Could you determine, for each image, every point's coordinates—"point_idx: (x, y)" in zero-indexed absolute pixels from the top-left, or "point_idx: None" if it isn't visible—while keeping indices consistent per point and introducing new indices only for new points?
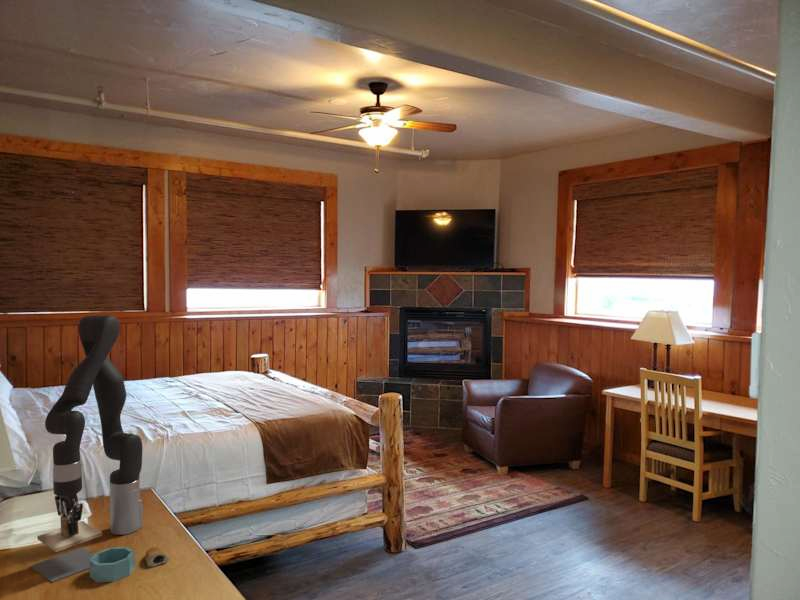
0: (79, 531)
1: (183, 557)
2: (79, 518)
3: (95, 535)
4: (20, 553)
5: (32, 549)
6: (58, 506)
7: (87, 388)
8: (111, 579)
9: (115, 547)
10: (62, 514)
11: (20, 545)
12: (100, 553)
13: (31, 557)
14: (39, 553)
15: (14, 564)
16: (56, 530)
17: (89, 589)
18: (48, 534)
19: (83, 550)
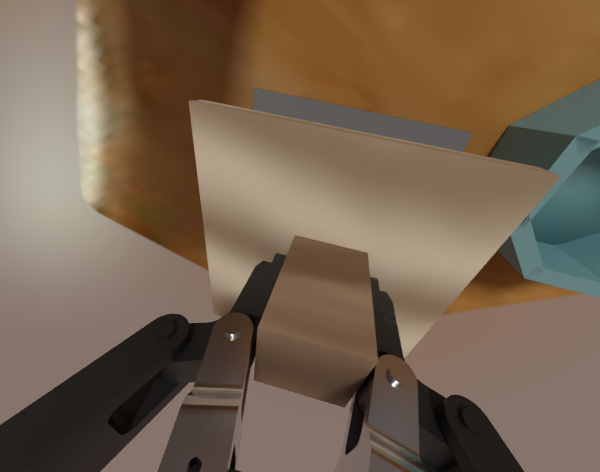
0: (345, 232)
1: None
2: (494, 449)
3: (513, 223)
4: (146, 214)
5: (138, 184)
6: (119, 450)
7: None
8: None
9: None
10: (244, 407)
11: (90, 183)
12: (535, 211)
13: (192, 217)
14: (180, 192)
15: (204, 256)
16: (218, 263)
17: (540, 283)
18: (234, 296)
19: (283, 109)
